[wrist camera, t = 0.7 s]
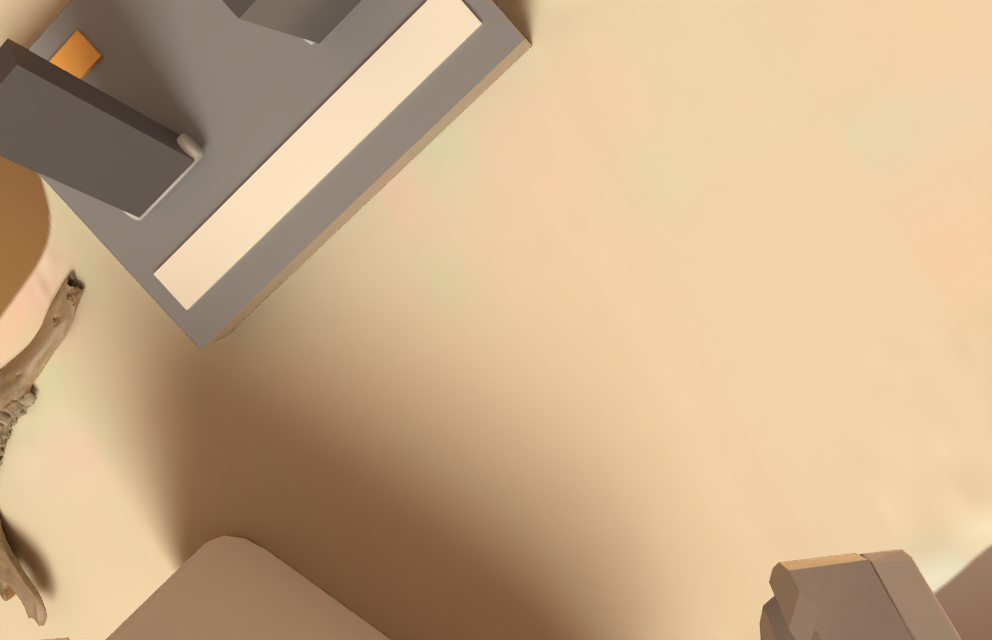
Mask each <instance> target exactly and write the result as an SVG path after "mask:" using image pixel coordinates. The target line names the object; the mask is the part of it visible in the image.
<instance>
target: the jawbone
mask: <svg viewBox="0 0 992 640" xmlns="http://www.w3.org/2000/svg"><path fill="white" fill-rule="evenodd" d="M73 278H74V276H73V275H70V276H69V277H68V278H67V280H66V281H65V282H64V284H63V285H62V287H61V288H60V290H59V292H58V293H57V295H56V297H55V299H54V301H53V303H52V305H51V306H50V309H49V311H48V313H47V315H46V318H45V320H44V323H43V325H42V327H41V329H40V330H39V332H38V334H37V335H36V336H35V338H34V339H33V340H32V342H31V343H30V344H29V345H28V346H27V348H26V349H25V350H24V351H22V352H21V353H20V354H19V355H18V356H17V357H16V358H15V359H14V360H12V361H11V362H10V363H9V364H8V365H6V366H5V367H4V368H3V369H2V370H0V456H3V455H4V451H3V450H2V449H1V448H2V447H3V448H5V447H6V445H7V444H6V441H5V440H6V438H7V439H9V438H10V435H11V434H10V433H9V430H11V429H12V428H11V426H10V425H11V424H12V425H15V424H16V423H17V420H16V417H18V418H19V417H21V415H25V414H26V411H27V406H29V407H31V404H34V401H35V400H36V396H35V395H34V394H33V393H31V387H32V384H33V382H34V381H35V380H36V378H37V377H38V376H39V374H40V373H41V372H42V370H43V368H44V367H45V365H46V364H47V362H48V360H49V359H50V357H51V356H52V355H53V353H54V352H55V350H56V349H57V348H58V346H59V345H60V343H61V342H62V340H63V339H64V337H65V336H66V334H67V333H68V330H69V329H70V326H71V323H72V320H73V316H74V312H75V310H76V308H77V306H78V303H79V301H80V298H81V296H82V292H83V291H84V290H82V288H81V285H80V284H78V283H74V282H73V280H75V279H73ZM73 284H75V285H76V286H75V287H74V286H73ZM71 286H72V287H71ZM1 463H2V461H1V460H0V465H1ZM6 541H7V539H6V536H5V534H4V531H3V529H2V527H1V519H0V595H1V597H2V599H3V600H4V601H8V600H9V599H11V598H12V597H13V596H14V595H15V594H16V595H17V596H18V597H19V599H20V600H21V602H22V603H23V605H24V607H25V609H26V613H27V615H28V617H29V618H33V619H35V620H36V622H37V624H38V625H39V626H41V625H42V626H43V625H44V624H45V622H46V619H47V613H46V609H45V606H44V604H43V600H42V598H41V596H40V594H39V593H38V591H37V589H36V588H35V586H34V585H33V583H32V582H31V580H30V579H29V577H28V576H27V575H26V573H25V572H24V570H23V569H22V567H21V565H20V563H19V562H18V560H17V559H16V557H15V556H14V554H13V552H12V550H11V548H10V546H9V544H8V543H7V542H6Z"/></svg>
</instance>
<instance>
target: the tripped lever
mask: <svg viewBox="0 0 992 640" xmlns="http://www.w3.org/2000/svg"><path fill="white" fill-rule="evenodd" d="M222 1H223V2H224V3H225V4H226V5H227V6H228V7H229V8H230V10H231V11H232V12H233V13H234V14H235V15H236V16H237V17H238V19H241V20H244V21H247V22H251V23H254V24H257V25H260V26H264V27H267V28H270V29H273V30H277V31H280V32H283V33H286V34H290V35H293V36H296V37H299V38H303V39H304V40H305V41H306V42H308V43H309V44H311V45H313V44H314V43H315V42H316V43H320V42H321V41H322V40H323V39H324V38H325V37H326V36H327V35H328V34H329V33H330V32H331V31H332V30H333V29H334V28H335V27H336V26H337V25H338V24H339V23H340V22H341V21H342V20H343V19H344V18H345V17H346V16H347V15H348V14H349V13H350V12H351V11H352V10H353V9H354V8H355V7H356V6H357V5H358V4H359V3H360V2H361V1H362V0H222Z"/></svg>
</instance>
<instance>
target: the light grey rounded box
mask: <svg viewBox="0 0 992 640" xmlns="http://www.w3.org/2000/svg"><path fill="white" fill-rule="evenodd" d="M106 640H391V639H389V638H388V637H387V636H385V635H384V634H383V633H381V632H380V631H378V630H377V629H376V628H374V627H373V626H371V625H370V624H369V623H367V622H366V621H365V620H363V619H362V618H360V617H359V616H358V615H356V614H355V613H353V612H352V611H351V610H349V609H348V608H347V607H345V606H344V605H342V604H341V603H340V602H338V601H337V600H335V599H334V598H333V597H331V596H330V595H329V594H327V593H326V592H324V591H323V590H322V589H320V588H319V587H317V586H316V585H315V584H313V583H312V582H311V581H309V580H308V579H306V578H305V577H304V576H302V575H301V574H299V573H298V572H297V571H295V570H294V569H293V568H291V567H290V566H288V565H287V564H286V563H284V562H283V561H281V560H280V559H279V558H277V557H276V556H275V555H273V554H272V553H270V552H269V551H268V550H266V549H264V548H263V547H261V546H259V545H257V544H255V543H253V542H251V541H249V540H247V539H245V538H239V537H232V536H224V535H223V536H220V537H218V538H215V539H213V540H210V541H208V542H206V543H205V544H204V545H203V546H202V547H201V548H200V549H199V550H197V551H196V552H195V553H194V554H193V555H192V556H191V557H190V558H189V559H188V560H187V561H186V562H185V563H184V564H183V565H182V566H181V567H180V568H179V569H178V570H177V571H176V572H175V573H174V574H173V575H172V576H171V577H170V578H169V579H168V580H167V581H166V582H165V583H164V584H163V585H161V586H160V587H159V588H158V589H157V590H156V591H155V592H154V593H153V594H152V595H151V596H150V597H149V598H148V599H147V600H146V601H145V602H144V603H143V604H142V605H141V606H140V607H139V608H138V609H137V610H136V611H135V612H134V613H133V614H132V615H131V616H130V617H129V618H128V619H126V620H125V621H124V622H123V623H122V624H121V625H120V626H119V627H118V628H117V629H116V630H115V631H114V632H113V633H112V634H111V635H110V636H109V637H108V638H107V639H106Z"/></svg>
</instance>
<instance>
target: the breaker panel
mask: <svg viewBox="0 0 992 640" xmlns="http://www.w3.org/2000/svg"><path fill="white" fill-rule="evenodd" d="M531 46H532V45H531V44H530V43H529V41H528V40H527V39H526V38H525V37H524V36H523V35H522V33H521V32H520V31H519V30H518V29H517V28H516V26H515V25H514V24H513V23H512V22H511V21H510V20H509V18H508V17H507V16H506V15H505V14H504V13H503V12H502V10H501V9H500V8H499V7H498V6H497V5H496V3H495V2H494V1H493V0H362V1H361V2H360V3H359V4H358V5H357V6H356V7H355V8H354V9H353V10H352V11H351V12H350V13H349V14H348V15H347V16H346V17H345V18H344V19H343V20H342V21H341V22H340V23H339V24H338V25H337V26H336V27H335V28H334V29H333V30H332V31H331V32H330V33H329V34H328V35H327V36H326V37H325V38H324V39H323V40H322V41H321V42H320V43H316V42H315V43H314V44H313V45H311V44H309V43H308V42H306V41H305V40H304V39H303V38H299V37H296V36H293V35H290V34H286V33H283V32H280V31H277V30H273V29H270V28H267V27H264V26H260V25H257V24H254V23H251V22H247V21H244V20H241V19H238V17H237V16H236V15H235V14H234V13H233V12H232V11H231V10H230V8H229V7H228V6H227V5H226V4H225V3H224V2H223V1H222V0H72V1H71V2H70V3H69V4H68V5H67V6H66V8H65V9H64V10H63V11H62V12H61V13H60V14H59V15H58V17H57V18H56V19H55V20H54V21H53V22H52V23H51V25H50V26H49V27H48V28H47V29H46V30H45V31H44V33H43V34H42V35H41V36H40V37H39V38H38V39H37V41H36V42H35V43H34V44H33V45H32V46H31V47H30V48H29V51H31V52H33V53H35V54H37V55H38V56H40V57H42V58H44V59H45V60H47V61H49V62H51V63H53V64H54V65H56V66H58V67H60V68H61V69H63V70H65V71H67V72H69V73H70V74H72V75H74V76H76V77H77V78H79V79H81V80H83V81H85V82H86V83H88V84H90V85H92V86H93V87H95V88H97V89H99V90H101V91H102V92H104V93H106V94H108V95H109V96H111V97H113V98H115V99H117V100H118V101H120V102H122V103H124V104H126V105H127V106H129V107H131V108H133V109H134V110H136V111H138V112H140V113H142V114H143V115H145V116H147V117H149V118H150V119H152V120H154V121H156V122H158V123H159V124H161V125H163V126H165V127H166V128H168V129H170V130H172V131H174V132H175V133H177V134H179V135H181V134H182V133H184V134H187V135H189V136H191V137H192V138H193V139H195V140H196V141H197V142H198V143H199V144H200V145H201V146H202V148H203V149H204V151H205V156H204V157H203V158H202V159H201V160H200V161H199V162H198V163H197V164H196V165H195V166H194V167H193V168H192V169H191V170H190V171H189V172H188V173H187V174H186V175H185V176H184V177H183V178H182V179H181V180H180V181H179V182H178V183H177V184H176V185H175V186H174V187H173V188H172V190H171V191H170V192H169V193H168V194H167V195H166V196H165V197H164V198H163V199H162V200H161V201H160V202H159V203H158V204H157V205H156V206H155V207H154V208H153V209H152V210H151V211H150V212H149V213H148V214H147V215H146V216H145V217H144V218H143V219H142V220H140V221H138V220H135V219H133V218H131V217H129V216H128V215H127V214H126V213H124V212H123V210H121V209H118V208H116V207H114V206H112V205H109V204H107V203H105V202H103V201H100V200H98V199H96V198H94V197H91V196H89V195H87V194H85V193H82V192H80V191H78V190H76V189H73V188H71V187H69V186H67V185H64V184H62V183H60V182H58V181H55V180H53V179H51V178H49V177H46V176H44V175H42V174H40V173H39V175H40V176H41V177H42V178H43V179H44V180H45V181H46V182H47V183H48V184H49V185H50V187H51V188H52V189H53V190H54V191H55V192H56V193H57V194H58V195H59V196H60V197H61V199H62V200H63V201H64V202H65V203H66V204H67V205H68V206H69V207H70V208H71V209H72V211H73V212H74V213H75V214H76V215H77V216H78V217H79V218H80V219H81V220H82V221H83V222H84V224H85V225H86V226H87V227H88V228H89V229H90V230H91V231H92V232H93V233H94V234H95V236H96V237H97V238H98V239H99V240H100V241H101V242H102V243H103V244H104V245H105V246H106V248H107V249H108V250H109V251H110V252H111V253H112V254H113V255H114V256H115V257H116V258H117V260H118V261H119V262H120V263H121V264H122V265H123V266H124V267H125V268H126V269H127V270H128V272H129V273H130V274H131V275H132V276H133V277H134V278H135V279H136V280H137V281H138V282H139V283H140V285H141V286H142V287H143V288H144V289H145V290H146V291H147V292H148V293H149V294H150V295H151V297H152V298H153V299H154V300H155V301H156V302H157V303H158V304H159V305H160V306H161V307H162V309H163V310H164V311H165V312H166V313H167V314H168V315H169V316H170V317H171V318H172V319H173V321H174V322H175V323H176V324H177V325H178V326H179V327H180V328H181V329H182V330H183V331H184V332H185V334H186V335H187V336H188V337H189V338H190V339H191V340H192V341H193V342H194V343H195V344H196V346H197V347H198V348H199V349H201V348H203V347H205V346H207V345H209V344H211V343H213V342H215V341H217V340H219V339H221V338H223V337H225V336H227V335H228V334H229V333H230V332H231V331H232V330H233V329H234V328H235V327H236V326H237V325H238V324H239V323H240V322H241V321H243V320H244V319H245V318H246V317H247V316H248V315H249V314H250V313H251V312H252V311H253V310H254V309H255V308H256V307H257V306H258V305H259V304H260V303H261V302H263V301H264V300H265V299H266V298H267V297H268V296H269V295H270V294H271V293H272V292H273V291H274V290H275V289H276V288H277V287H278V286H279V285H280V284H282V283H283V282H284V281H285V280H286V279H287V278H288V277H289V276H290V275H291V274H292V273H293V272H294V271H295V270H296V269H297V268H298V267H299V266H300V265H302V264H303V263H304V262H305V261H306V260H307V259H308V258H309V257H310V256H311V255H312V254H313V253H314V252H315V251H316V250H317V249H318V248H319V247H321V246H322V245H323V244H324V243H325V242H326V241H327V240H328V239H329V238H330V237H331V236H332V235H333V234H334V233H335V232H336V231H337V230H338V229H339V228H341V227H342V226H343V225H344V224H345V223H346V222H347V221H348V220H349V219H350V218H351V217H352V216H353V215H354V214H355V213H356V212H357V211H358V210H359V209H361V208H362V207H363V206H364V205H365V204H366V203H367V202H368V201H369V200H370V199H371V198H372V197H373V196H374V195H375V194H376V193H377V192H378V191H380V190H381V189H382V188H383V187H384V186H385V185H386V184H387V183H388V182H389V181H390V180H391V179H392V178H393V177H394V176H395V175H396V174H397V173H398V172H400V171H401V170H402V169H403V168H404V167H405V166H406V165H407V164H408V163H409V162H410V161H411V160H412V159H413V158H414V157H415V156H416V155H417V154H419V153H420V152H421V151H422V150H423V149H424V148H425V147H426V146H427V145H428V144H429V143H430V142H431V141H432V140H433V139H434V138H435V137H436V136H437V135H439V134H440V133H441V132H442V131H443V130H444V129H445V128H446V127H447V126H448V125H449V124H450V123H451V122H452V121H453V120H454V119H455V118H456V117H457V116H459V115H460V114H461V113H462V112H463V111H464V110H465V109H466V108H467V107H468V106H469V105H470V104H471V103H472V102H473V101H474V100H475V99H476V98H478V97H479V96H480V95H481V94H482V93H483V92H484V91H485V90H486V89H487V88H488V87H489V86H490V85H491V84H492V83H493V82H494V81H495V80H496V79H498V78H499V77H500V76H501V75H502V74H503V73H504V72H505V71H506V70H507V69H508V68H509V67H510V66H511V65H512V64H513V63H514V62H515V61H517V60H518V59H519V58H520V57H521V56H522V55H523V54H524V53H525V52H526V51H527V50H528V49H529V48H530V47H531Z"/></svg>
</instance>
